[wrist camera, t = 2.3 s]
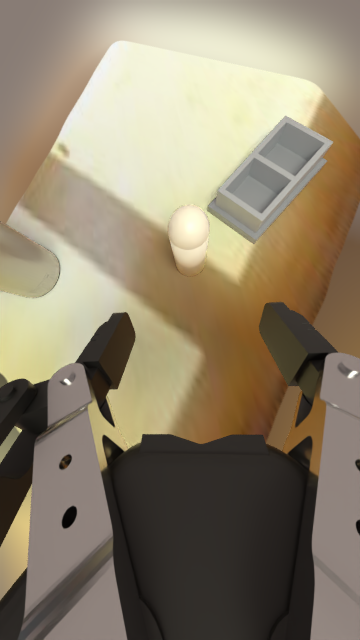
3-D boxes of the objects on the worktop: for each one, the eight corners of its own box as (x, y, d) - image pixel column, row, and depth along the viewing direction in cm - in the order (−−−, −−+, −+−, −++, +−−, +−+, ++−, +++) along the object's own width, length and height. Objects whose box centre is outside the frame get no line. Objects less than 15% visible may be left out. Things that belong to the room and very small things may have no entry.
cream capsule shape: (170, 264, 26) (154, 217, 16) (189, 242, 26) (185, 183, 16) (191, 282, 25) (189, 245, 15) (211, 260, 25) (222, 209, 15)
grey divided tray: (207, 210, 26) (209, 191, 23) (272, 139, 27) (284, 109, 23) (253, 244, 25) (263, 228, 21) (322, 167, 25) (342, 140, 22)
